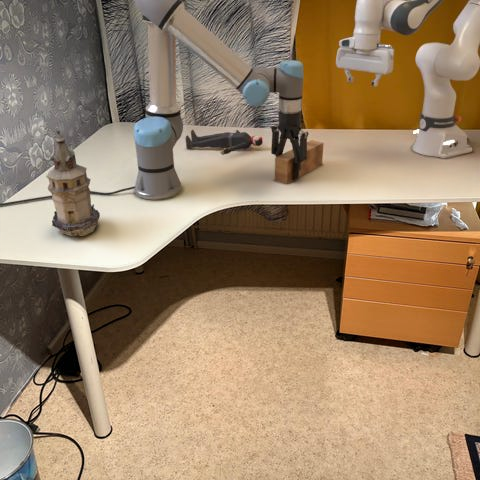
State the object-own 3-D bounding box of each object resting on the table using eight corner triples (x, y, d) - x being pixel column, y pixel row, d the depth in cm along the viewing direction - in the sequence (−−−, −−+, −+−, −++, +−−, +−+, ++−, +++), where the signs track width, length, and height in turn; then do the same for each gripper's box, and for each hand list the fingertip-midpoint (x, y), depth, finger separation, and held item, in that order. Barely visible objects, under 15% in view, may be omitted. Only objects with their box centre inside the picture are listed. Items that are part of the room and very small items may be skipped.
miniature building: (80, 214, 164) (63, 117, 149) (111, 225, 157) (96, 125, 142) (44, 231, 154) (22, 130, 140) (75, 244, 147) (55, 139, 133)
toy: (197, 123, 225) (267, 123, 219) (198, 137, 228) (268, 138, 222) (178, 143, 203) (256, 144, 197) (180, 159, 206) (257, 160, 200)
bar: (286, 184, 182) (287, 160, 178) (274, 180, 185) (275, 157, 181) (322, 164, 197) (323, 142, 193) (310, 161, 200) (311, 139, 196)
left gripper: (320, 113, 172) (316, 179, 183) (273, 103, 182) (272, 167, 194) (307, 118, 167) (304, 187, 178) (260, 108, 177) (260, 173, 189)
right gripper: (399, 43, 176) (393, 86, 182) (344, 38, 187) (341, 78, 194) (390, 46, 171) (385, 90, 178) (335, 40, 183) (332, 81, 190)
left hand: (288, 176), depth 186 cm, fingers open, 6 cm apart
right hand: (362, 84), depth 186 cm, fingers open, 8 cm apart
